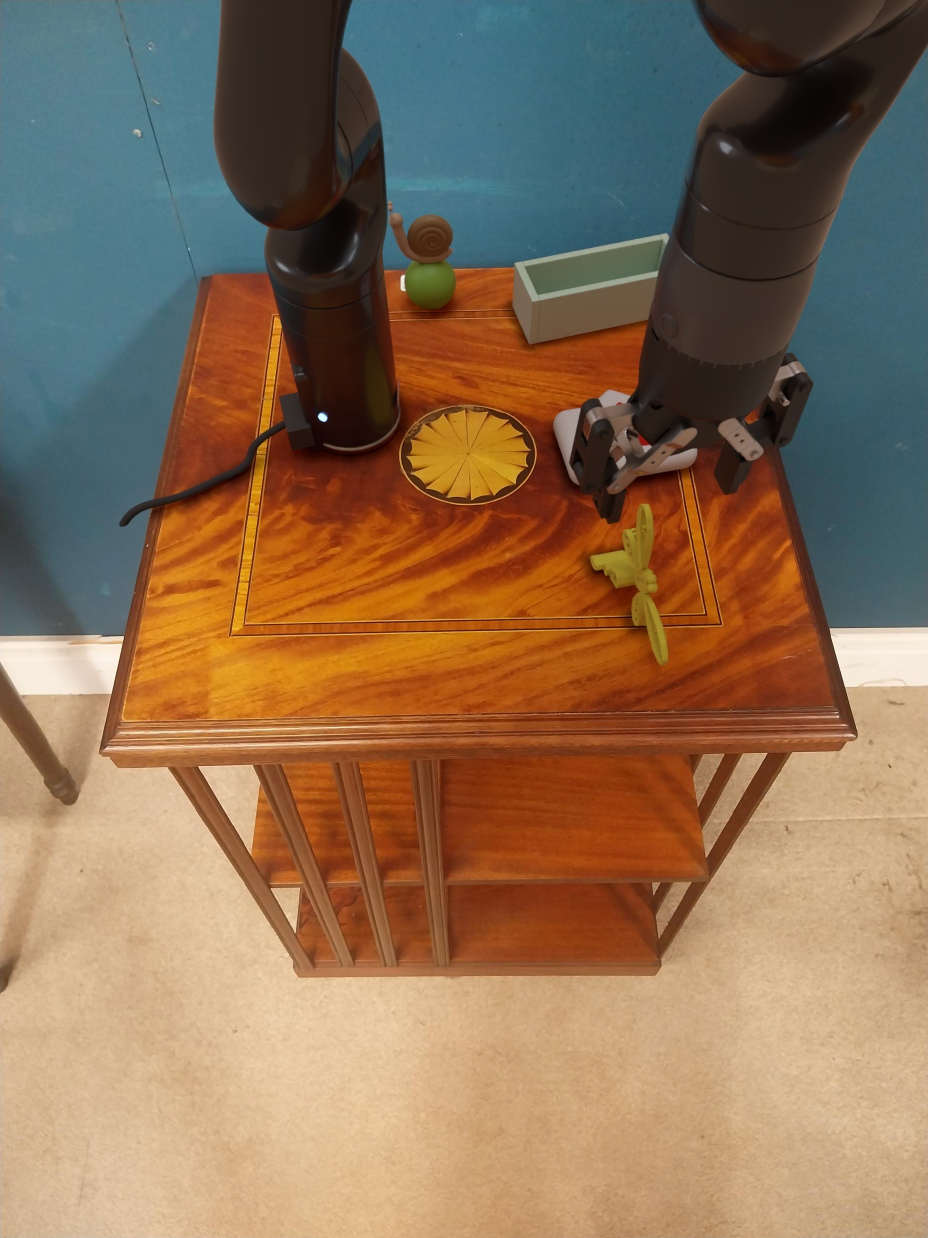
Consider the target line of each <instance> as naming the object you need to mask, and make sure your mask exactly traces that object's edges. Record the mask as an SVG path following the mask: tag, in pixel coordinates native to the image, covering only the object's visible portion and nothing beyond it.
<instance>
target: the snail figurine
mask: <svg viewBox="0 0 928 1238" xmlns="http://www.w3.org/2000/svg"><path fill="white" fill-rule="evenodd" d="M387 211H388V212H389V216H388V218H387V221H388V223H389V224H388V225H389V226H390V228H391V229H392V230H391V231H392V233H393V235H394V239H395V242H396V244H397V247H398V248H399V250H400V252H401V253H402V255H404V256H405V257H406V258H407V259H409V260H411V262H410V264H408V266H407V269H406V270H405V273H404V281H403V282H404V283H403V285H404V290H405V293H406V295H407V297H408V298H409V300H410V301H411V302H412V303H413V304H414V305H415V306H417V307H418V308H421V309H423V310H429V311H430V310H432V311H433V310H437V309H441V308H443V307H444V306H446V305H447V304H448V303H449V302H450V301H451V300H452V299H453V296H454V294H455V291H456V287H457V278H456V277H457V276H456V273H455V270H454V269H453V266H452V264H450V263H449V261H448V260H446V259H448V258H449V257H450V256H451V255H452V254H453V252H454V248H452V247H451V245H452V243H453V239H454V232H453V228H452V226H451V224H450V223H449V222H448V220H447V219H445V218H444V217H443V216H440V215H437V214H424V215H422V216H419V217H418V218H416V219H415V220H413V221H412V222H411V224H410V225H409V227H408V230H407V234H406V232H405V229H404V226H403V224H404V218H403V215H401V213H398V212H393V211H394V206H393V202H392V201H391V200H389V201H388V200H387ZM392 212H393V213H392Z"/></svg>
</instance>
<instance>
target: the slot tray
mask: <svg viewBox="0 0 928 1238" xmlns="http://www.w3.org/2000/svg"><path fill="white" fill-rule="evenodd" d="M669 236H670V235H669V234H668V233H661V234H656V235H651V236H645V237H641V238H640V237H639V238H636V239H630V240H624V241H620V242H614V243H610V244H604V245H599V246H594V247H590V248H584V249H579V250H574V251H570V252H569V251H568V252H564V253H558V254H553V255H549V256H544V257H538V258H533V259H528V260H523V261H517V262H514V264H513V265H514V267H513V288H512V309H513V311H514V313H515V315H516V317H517V320H518V323H519V324H520V327H521V330H522V331H523V333H524V335H525V338H526V340H527V342H528V345H534V344H539V343H544V342H548V341H554V340H558V339H563V338H567V337H573V336H578V335H582V334H587V333H592V332H596V331H601V330H606V329H611V328H615V327H619V326H626V325H629V324H634V323H640V322H643V321H648V317H649V313H650V308H651V303H652V299H653V294H654V289H655V285H656V280H657V275H658V271H659V266H660V262H661V258H662V255H663V252H664V249H665V247H666V244H667V242H668V239H669Z"/></svg>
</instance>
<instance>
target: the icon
mask: <svg viewBox="0 0 928 1238" xmlns="http://www.w3.org/2000/svg"><path fill="white" fill-rule="evenodd" d="M630 396H631V395H629V394H626V393H623V392H619V391H617V390H613V389H607V390H606V391H605V392H604V393H602V395H600V396H599V397H598V398H597V399H599V400H600V402H601V404H602V406H603V408H604V407H609V406H615V405H620V404H625V403H627V400H628V399H629V397H630ZM580 409H581V407H577V408H571V409H565V410H562V411H560V412H558V413H557V414H556V416H555V418H554V420H553V424H552V427H553V432H554V435H555V438H556V441H557V445H558V447H559V449H560V452H561V455H562V458H563V461H564V465H565V468H566V470H567V473H568V476H569V478H570V480H571V481H572V482H573V483H574V484H575V485H577V486H579V483H578V480H577V478H576V476H575V474H574V471H573V470H572V469H571V466H570V464H569V460H570V455H571V451H572V446H573V442H574V437H575V432H576V428H577V423H578V419H579V414H580ZM639 442H640V444H641V445H642V447H643V449H644V451H645V453H646V452H647V451H648V450H649V449H650V448H651V447H652V446H651V445H650V444H649V443H648V442H647V441H646V440H645V439H644V438H643V437H642V436H641V435H640V434H639ZM697 456H698V449H690V450H688V451H685V452H683V453H680V454H677V455H673V456H669V457H668V458H666V459H665V460H664V461H663V462H662V463H661V464H660V465H659V466H658V467H657V468H656V469H655V470H653V471H652V472H651V473H650V474H648V475H653V474H659V473H666V472H672V471H677V470H683V469H687V468H689V467H691V466H692V465H693V464H694V463H695V461H696V460H697V458H698V457H697ZM625 463H626V458H625V456H623V457H622V458H621V459H620V460H619V461H618V462H617V463H616V464H617V466H618V468H619V470H620V469H621V468H622V467H623V466H624V465H625ZM648 475H647V476H648ZM642 476H645V475H644V474H640V475H638V476H637V477H636V478H638V477H642Z"/></svg>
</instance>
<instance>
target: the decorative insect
mask: <svg viewBox="0 0 928 1238" xmlns="http://www.w3.org/2000/svg"><path fill="white" fill-rule="evenodd" d="M635 520H636V522H635V523H636V524H635V527H633V528H626V529H623V530H622V533H621V539H622V544H623V548H624V549H622V550H621V549H620V550H615V551H610V552H605V553H599V554H594V555H590V556H589V560H590V564H591V566H592V569H593V570H595V571H601V570H603V573H604V576H606V577H608V576H609V578H610V581H611V582H612V583H613V585H614V587H615V589H620V588H625V587H631V586H635V587H636V588H637V589H638V591H637V593H636V594H635V595H634V596H633V597H632V601H631V609H630V610H631V618H632V619H631V620H632V623H633V626H635V627H641V626H642V627H643V626H644V627H646V630H647V634H648V637H649V641H650V647H651V649H652V652H653V655H654V658H655V659H656V662H657V663H658V664H659V665H660V666H665V665H667V664H668V662H669V649H668V641H667V635H666V630H665V628H664V624H663V622H662V619H661V615H660V613H659V611H658V609H657V606H656V604H655V602H654V600H653V598H652V596H651V594H654V593H656V592H657V591H658V583H657V580H658V578H657V576H656V574H654V570H651V569H650V568H649V567H648V566H649V563H650V560H651V556H652V552H653V547H654V541H655V528H654V516H653V511H652V508H651V506H650V504H649V503H640V504H639V506H638V507H637V512H636V519H635ZM650 593H651V594H650Z"/></svg>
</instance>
